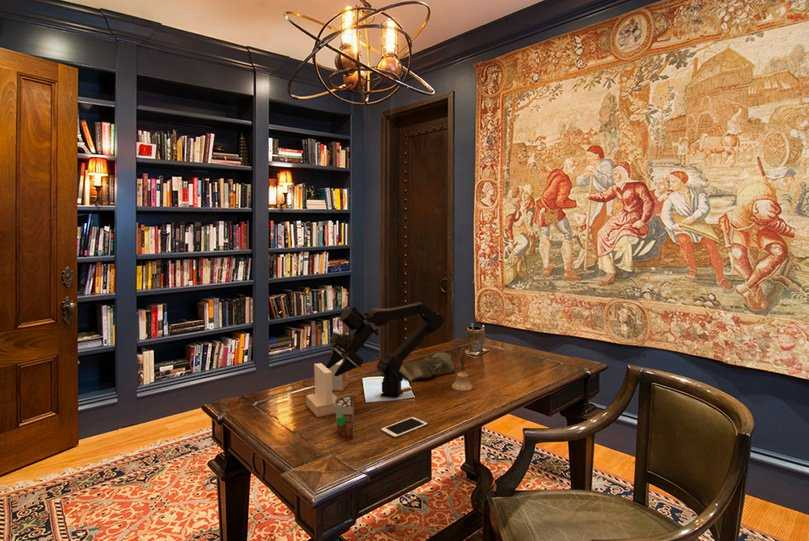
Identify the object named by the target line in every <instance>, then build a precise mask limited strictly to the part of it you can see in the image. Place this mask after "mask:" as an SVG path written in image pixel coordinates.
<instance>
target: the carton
mask: <svg viewBox="0 0 809 541" xmlns="http://www.w3.org/2000/svg"><path fill="white" fill-rule="evenodd" d="M305 401H306V402H305V403H306V407H307V408H308V409H309V410H310V411H311V412H312V413H313V415H314V416H315V417H316V418H322V417H325V416H330V415H334V414H335V415H336V411H335V410H334V409H333V406H334V405H331V406H326V407H321V408H316V407H315V406H314V405H313V404H312V403H311V401H310V400H309V399H308V398H307V397H306V396H305Z"/></svg>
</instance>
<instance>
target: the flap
mask: <svg viewBox="0 0 809 541" xmlns="http://www.w3.org/2000/svg"><path fill="white" fill-rule="evenodd" d="M313 365H314V370H313V371H314V391H315V392H314V393H310V394H307V395H306V396H305V398H306V397H307V398H308V399H309V400H310V401H311V403H312V404H313V405H314V406H315V407H316V408H321V407H326V406H331V405H334V402H335V400H336V398H338V396H337V395H335V393H333V390H332V372H331V371H330V370H329V369H328V368H326V365H324V364H323V363H321V362H319V363H314V364H313Z"/></svg>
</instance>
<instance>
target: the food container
mask: <svg viewBox="0 0 809 541" xmlns="http://www.w3.org/2000/svg"><path fill="white" fill-rule="evenodd" d="M354 397H355V396H354V393H345V394H343V395H340V396H337V398H336V400H335V402H334V406H333V409H334V410H335V411H336V414H335V417H336V426H337V428H336V430H337V434H338V435H339V436H341V437H344V438H348V439H349V438H354V432H355V410H354V409H355V408H354V406H355V405H354V404H355V403H354V402H355V401H354Z"/></svg>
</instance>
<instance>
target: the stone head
mask: <svg viewBox="0 0 809 541" xmlns="http://www.w3.org/2000/svg"><path fill="white" fill-rule="evenodd" d="M452 358H453V357H452V355H451V354H450V353H447V352H443V351H442V352H436V353H435V354H433V355H432V356H427V357H426V358H424V359H422V360H415V361H407V362H405V363H402V366H401V369H400V370H399V372H401V373H402V374H403V375H404V377H406V379H408V381H409V382H411V383H412V382H414V381H417V379H430V378H432V377H433V376H438V377H439V376H441V375H448V374H452V373H453V372H454V369H455V366H454V362H453V360H452Z"/></svg>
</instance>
